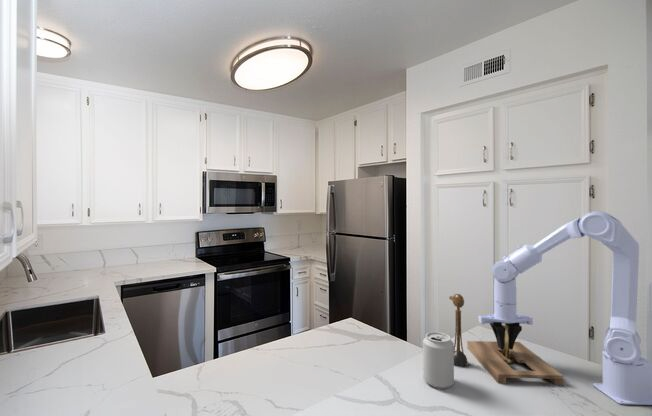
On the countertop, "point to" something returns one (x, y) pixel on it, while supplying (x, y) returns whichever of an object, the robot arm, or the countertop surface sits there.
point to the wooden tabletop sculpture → (458, 332)
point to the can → (438, 360)
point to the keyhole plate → (501, 370)
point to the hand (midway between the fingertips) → (505, 347)
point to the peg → (506, 345)
